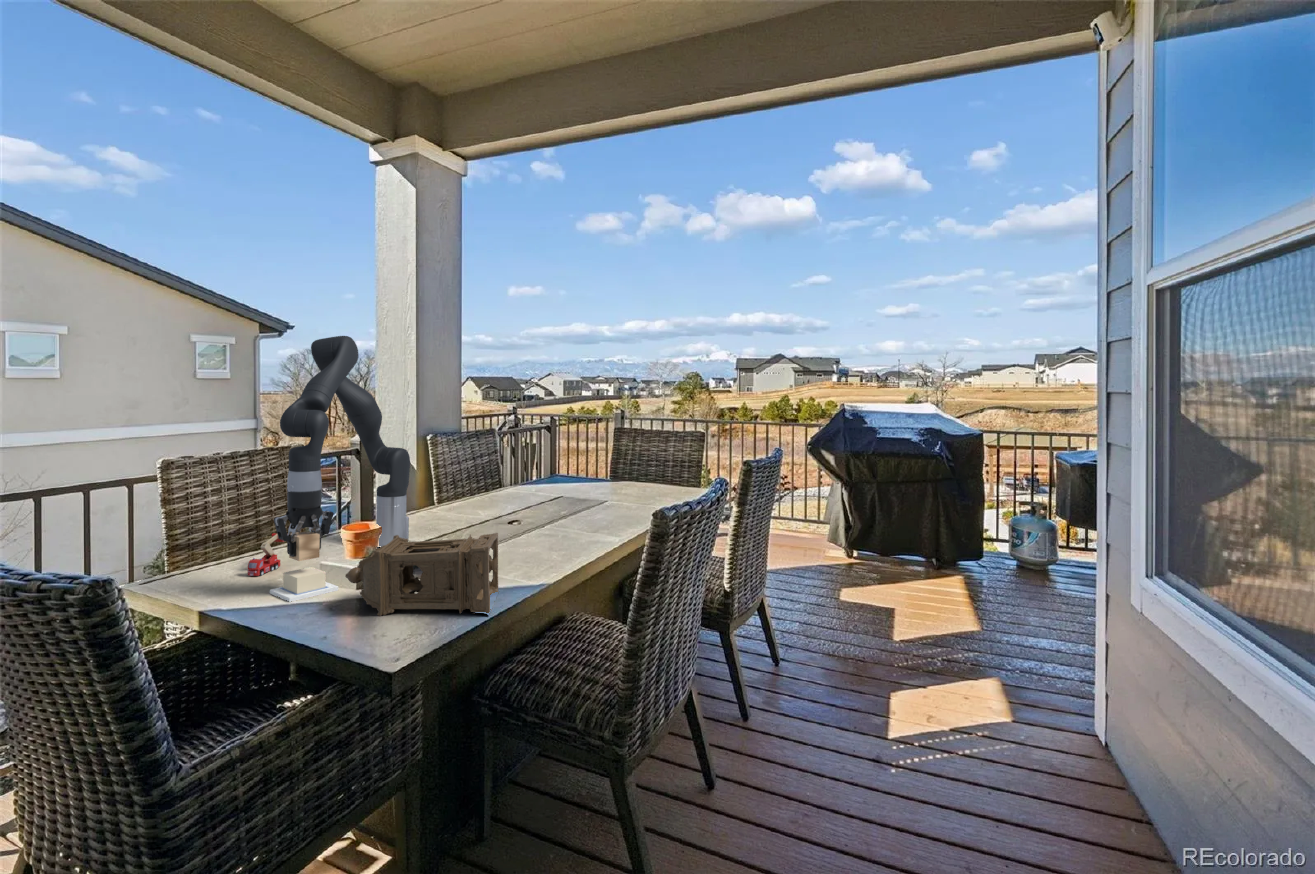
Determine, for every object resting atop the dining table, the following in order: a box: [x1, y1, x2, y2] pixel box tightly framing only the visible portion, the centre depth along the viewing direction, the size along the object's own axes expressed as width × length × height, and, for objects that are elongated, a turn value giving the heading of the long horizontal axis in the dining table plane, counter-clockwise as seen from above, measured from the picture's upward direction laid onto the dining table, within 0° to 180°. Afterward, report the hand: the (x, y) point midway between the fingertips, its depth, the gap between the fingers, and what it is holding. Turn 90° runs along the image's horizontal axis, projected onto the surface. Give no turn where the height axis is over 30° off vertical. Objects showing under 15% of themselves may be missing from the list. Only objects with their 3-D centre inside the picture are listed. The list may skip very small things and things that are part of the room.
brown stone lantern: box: [344, 532, 499, 617], centre depth 148 cm, size 35×18×18 cm, turn 96°
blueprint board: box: [269, 566, 339, 603], centre depth 155 cm, size 12×10×5 cm
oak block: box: [288, 530, 321, 562], centre depth 154 cm, size 5×5×6 cm
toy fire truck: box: [247, 532, 288, 577], centre depth 171 cm, size 3×14×10 cm, turn 179°
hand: (304, 553), depth 154 cm, fingers closed on oak block, 5 cm apart
